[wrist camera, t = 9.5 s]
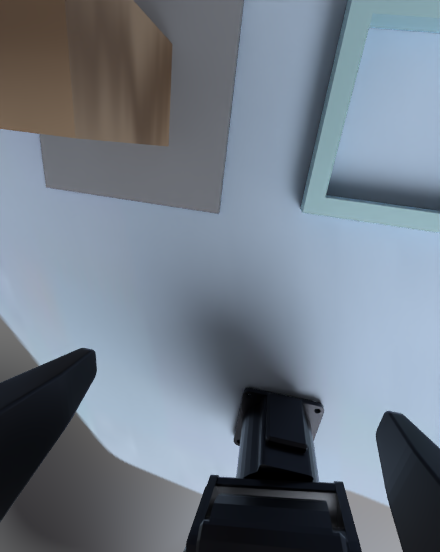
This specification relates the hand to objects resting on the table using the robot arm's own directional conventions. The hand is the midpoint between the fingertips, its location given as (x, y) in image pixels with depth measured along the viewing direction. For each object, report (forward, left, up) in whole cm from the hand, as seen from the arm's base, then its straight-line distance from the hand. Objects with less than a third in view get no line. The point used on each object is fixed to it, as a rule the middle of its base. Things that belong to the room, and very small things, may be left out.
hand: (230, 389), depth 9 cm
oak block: (+9, +9, -11) cm, 17 cm away
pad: (+9, +9, -12) cm, 17 cm away
